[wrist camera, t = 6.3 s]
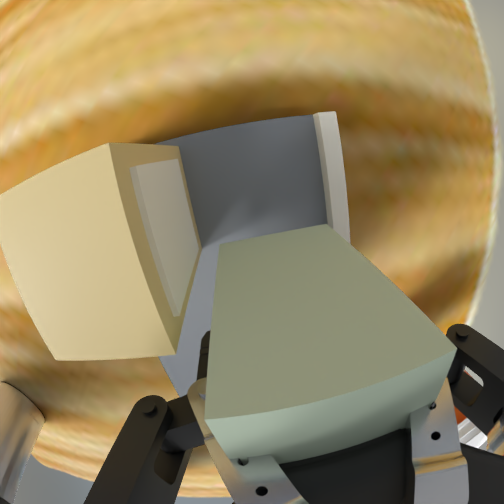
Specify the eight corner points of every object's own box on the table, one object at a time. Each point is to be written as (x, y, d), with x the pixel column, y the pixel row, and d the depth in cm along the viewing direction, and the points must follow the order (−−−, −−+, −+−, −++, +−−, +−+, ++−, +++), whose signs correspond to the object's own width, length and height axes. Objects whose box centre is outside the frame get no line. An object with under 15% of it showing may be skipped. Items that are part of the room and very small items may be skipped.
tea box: (248, 357, 15) (263, 506, 7) (219, 244, 12) (204, 419, 4) (335, 338, 15) (397, 470, 7) (330, 223, 12) (463, 344, 4)
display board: (182, 381, 22) (178, 406, 19) (105, 162, 15) (83, 166, 13) (337, 353, 22) (348, 376, 19) (318, 117, 15) (335, 111, 13)
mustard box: (126, 264, 16) (56, 360, 7) (99, 170, 14) (-11, 202, 5) (205, 248, 16) (182, 353, 7) (182, 145, 14) (115, 140, 5)
